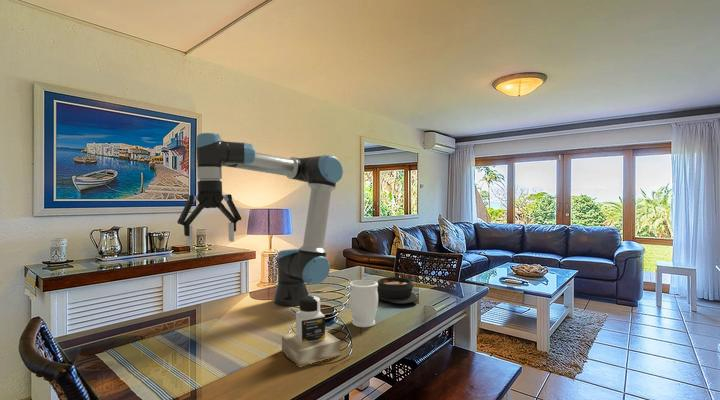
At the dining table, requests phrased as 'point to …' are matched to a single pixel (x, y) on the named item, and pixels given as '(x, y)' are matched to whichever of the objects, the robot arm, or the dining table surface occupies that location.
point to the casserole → (396, 290)
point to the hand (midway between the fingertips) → (211, 243)
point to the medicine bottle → (310, 320)
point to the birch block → (310, 348)
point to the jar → (363, 302)
